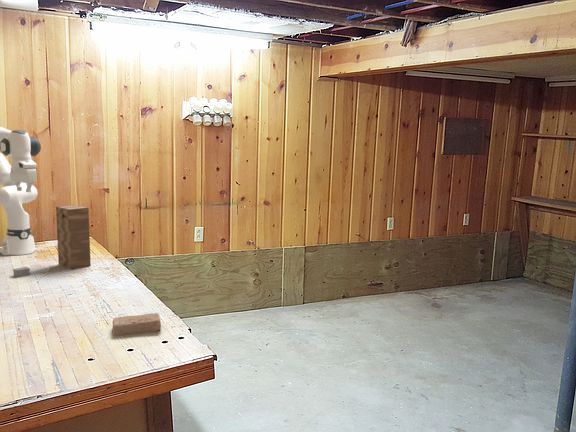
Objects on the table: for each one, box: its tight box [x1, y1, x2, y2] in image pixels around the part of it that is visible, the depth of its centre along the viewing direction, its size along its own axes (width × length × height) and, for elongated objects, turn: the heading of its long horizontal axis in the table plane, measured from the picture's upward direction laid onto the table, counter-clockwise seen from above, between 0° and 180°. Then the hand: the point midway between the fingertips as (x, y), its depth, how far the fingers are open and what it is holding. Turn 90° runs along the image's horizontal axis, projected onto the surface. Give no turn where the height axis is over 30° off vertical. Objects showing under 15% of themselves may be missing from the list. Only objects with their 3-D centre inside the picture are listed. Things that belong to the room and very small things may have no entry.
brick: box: [112, 312, 162, 336], centre depth 187 cm, size 16×8×5 cm, turn 109°
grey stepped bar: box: [12, 266, 50, 278], centre depth 255 cm, size 16×4×4 cm, turn 139°
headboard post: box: [55, 204, 92, 270], centre depth 270 cm, size 14×10×31 cm
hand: (23, 191), depth 258 cm, fingers open, 8 cm apart
